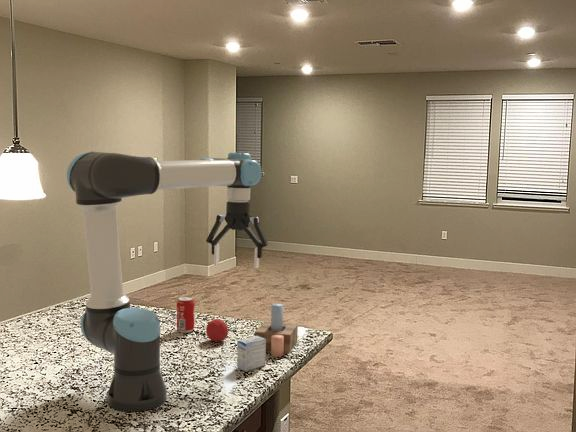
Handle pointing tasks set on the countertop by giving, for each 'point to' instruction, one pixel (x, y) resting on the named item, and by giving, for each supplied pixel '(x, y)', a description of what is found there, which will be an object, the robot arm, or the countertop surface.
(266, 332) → the hole block
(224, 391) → the countertop surface
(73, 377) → the countertop surface
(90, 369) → the countertop surface
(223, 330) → the tomato
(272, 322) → the long pin
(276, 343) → the short pin
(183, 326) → the beverage can
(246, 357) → the medicine box
